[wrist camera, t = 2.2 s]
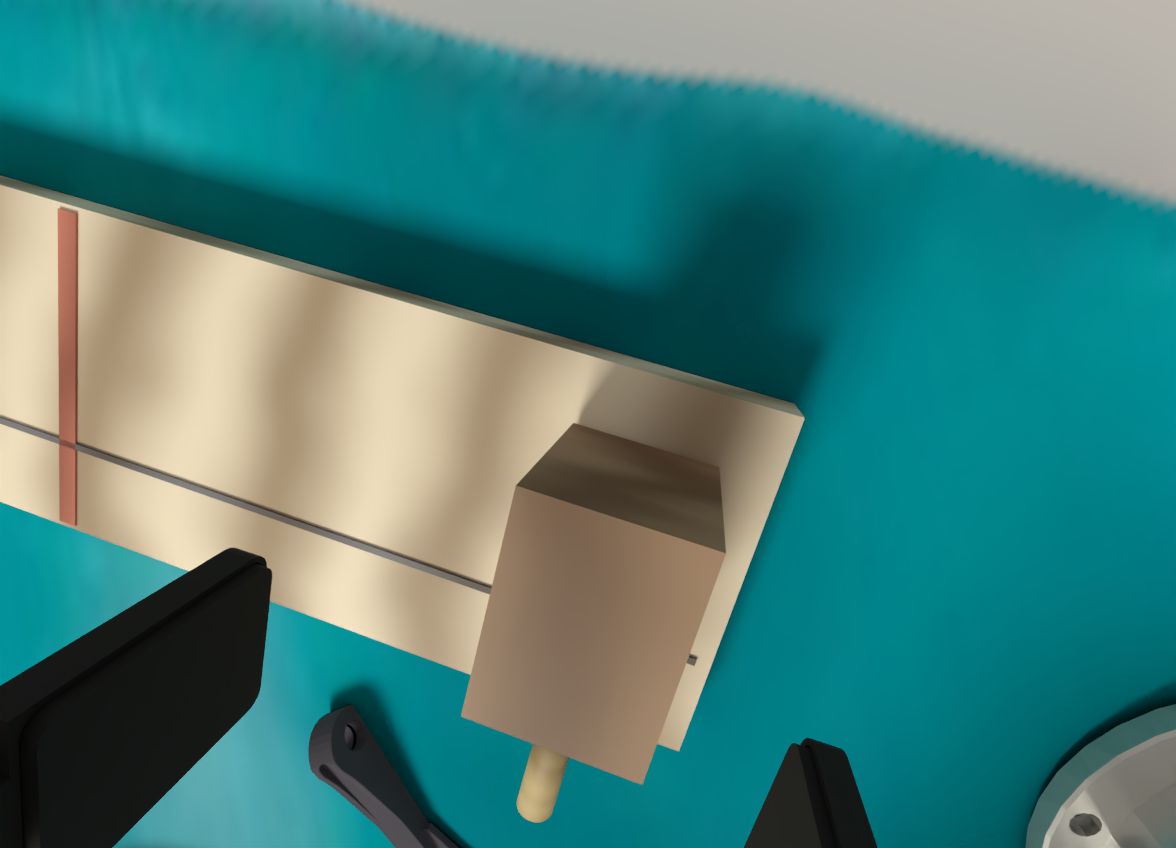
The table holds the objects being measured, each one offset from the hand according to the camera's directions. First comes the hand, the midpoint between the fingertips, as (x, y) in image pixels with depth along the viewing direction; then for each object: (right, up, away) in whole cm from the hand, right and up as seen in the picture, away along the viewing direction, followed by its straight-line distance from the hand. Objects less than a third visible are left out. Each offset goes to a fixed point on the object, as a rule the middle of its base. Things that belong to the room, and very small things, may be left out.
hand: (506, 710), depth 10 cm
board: (-8, +4, +12) cm, 15 cm away
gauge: (+2, 0, +8) cm, 9 cm away
